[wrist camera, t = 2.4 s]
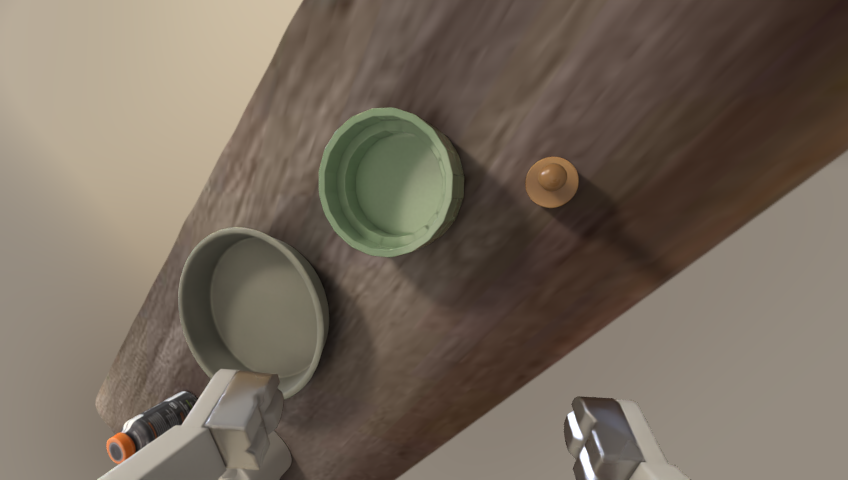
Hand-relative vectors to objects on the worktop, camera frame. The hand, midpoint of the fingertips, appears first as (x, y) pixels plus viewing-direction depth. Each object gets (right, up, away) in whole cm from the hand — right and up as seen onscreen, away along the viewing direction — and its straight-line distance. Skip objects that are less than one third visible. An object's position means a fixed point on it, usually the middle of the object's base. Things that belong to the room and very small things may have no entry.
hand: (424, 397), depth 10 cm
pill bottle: (-40, -24, +52) cm, 69 cm away
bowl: (-3, +11, +34) cm, 36 cm away
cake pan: (-23, -6, +44) cm, 49 cm away
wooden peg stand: (+14, +10, +29) cm, 33 cm away
